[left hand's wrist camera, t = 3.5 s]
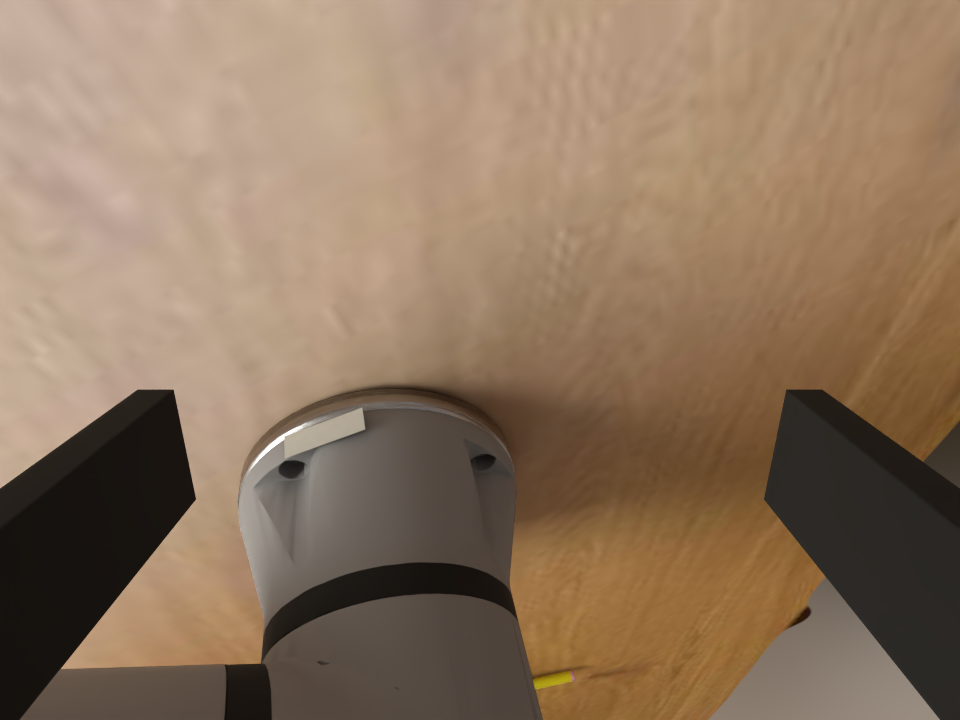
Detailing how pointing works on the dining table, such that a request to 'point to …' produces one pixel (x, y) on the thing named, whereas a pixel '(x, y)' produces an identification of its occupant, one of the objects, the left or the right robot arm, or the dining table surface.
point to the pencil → (553, 679)
